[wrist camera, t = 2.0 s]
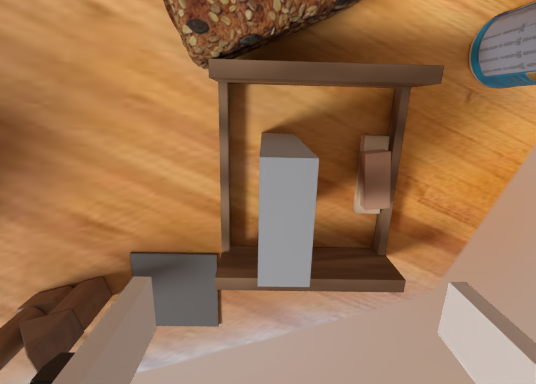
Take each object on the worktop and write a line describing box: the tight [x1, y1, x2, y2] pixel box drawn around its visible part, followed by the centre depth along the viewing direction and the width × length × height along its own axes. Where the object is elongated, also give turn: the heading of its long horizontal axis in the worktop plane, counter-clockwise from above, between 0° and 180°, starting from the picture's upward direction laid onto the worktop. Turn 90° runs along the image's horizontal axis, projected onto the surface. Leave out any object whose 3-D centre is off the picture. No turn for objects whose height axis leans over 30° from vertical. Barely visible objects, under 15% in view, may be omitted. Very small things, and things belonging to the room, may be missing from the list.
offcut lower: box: [353, 135, 390, 214], centre depth 38 cm, size 10×3×2 cm, turn 179°
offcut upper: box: [360, 149, 391, 210], centre depth 36 cm, size 7×3×2 cm, turn 5°
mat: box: [130, 252, 219, 326], centre depth 43 cm, size 12×12×1 cm
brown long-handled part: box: [0, 277, 112, 373], centre depth 35 cm, size 4×11×18 cm, turn 106°
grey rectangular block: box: [258, 133, 319, 287], centre depth 30 cm, size 10×4×18 cm, turn 179°
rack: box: [208, 59, 444, 292], centre depth 35 cm, size 25×22×8 cm
